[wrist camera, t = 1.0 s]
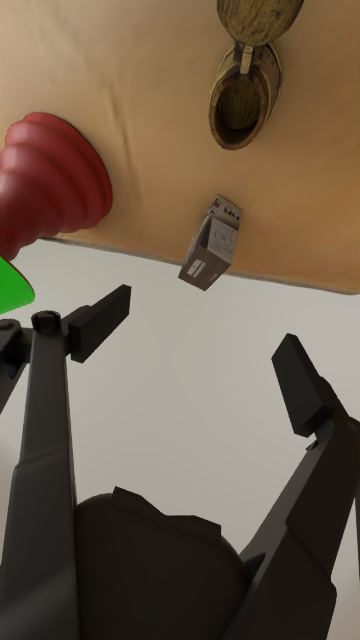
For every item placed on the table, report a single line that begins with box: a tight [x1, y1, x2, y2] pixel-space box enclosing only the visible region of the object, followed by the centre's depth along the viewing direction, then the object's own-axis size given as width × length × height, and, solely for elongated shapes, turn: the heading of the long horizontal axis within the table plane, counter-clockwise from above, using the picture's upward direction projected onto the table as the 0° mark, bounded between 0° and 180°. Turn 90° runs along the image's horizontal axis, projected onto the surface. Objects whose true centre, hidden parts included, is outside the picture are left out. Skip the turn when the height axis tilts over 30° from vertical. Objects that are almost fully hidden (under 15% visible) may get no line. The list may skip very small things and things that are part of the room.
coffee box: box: [178, 195, 242, 291], centre depth 38 cm, size 9×6×16 cm
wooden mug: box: [208, 0, 304, 150], centre depth 20 cm, size 9×14×18 cm, turn 176°
